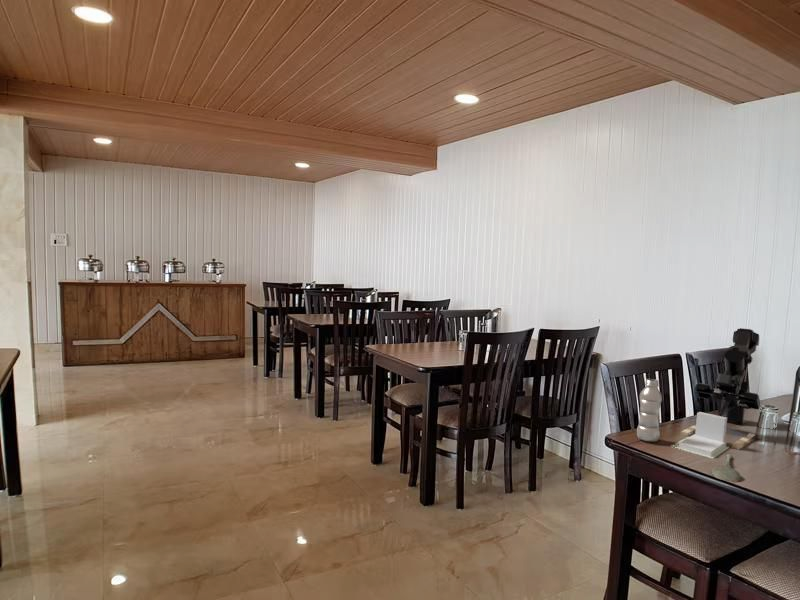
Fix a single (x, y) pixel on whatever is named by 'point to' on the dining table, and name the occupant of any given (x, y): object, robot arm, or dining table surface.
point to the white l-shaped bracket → (707, 435)
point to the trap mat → (736, 432)
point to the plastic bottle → (649, 411)
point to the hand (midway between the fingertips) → (719, 415)
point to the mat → (702, 454)
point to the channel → (736, 445)
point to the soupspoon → (726, 471)
